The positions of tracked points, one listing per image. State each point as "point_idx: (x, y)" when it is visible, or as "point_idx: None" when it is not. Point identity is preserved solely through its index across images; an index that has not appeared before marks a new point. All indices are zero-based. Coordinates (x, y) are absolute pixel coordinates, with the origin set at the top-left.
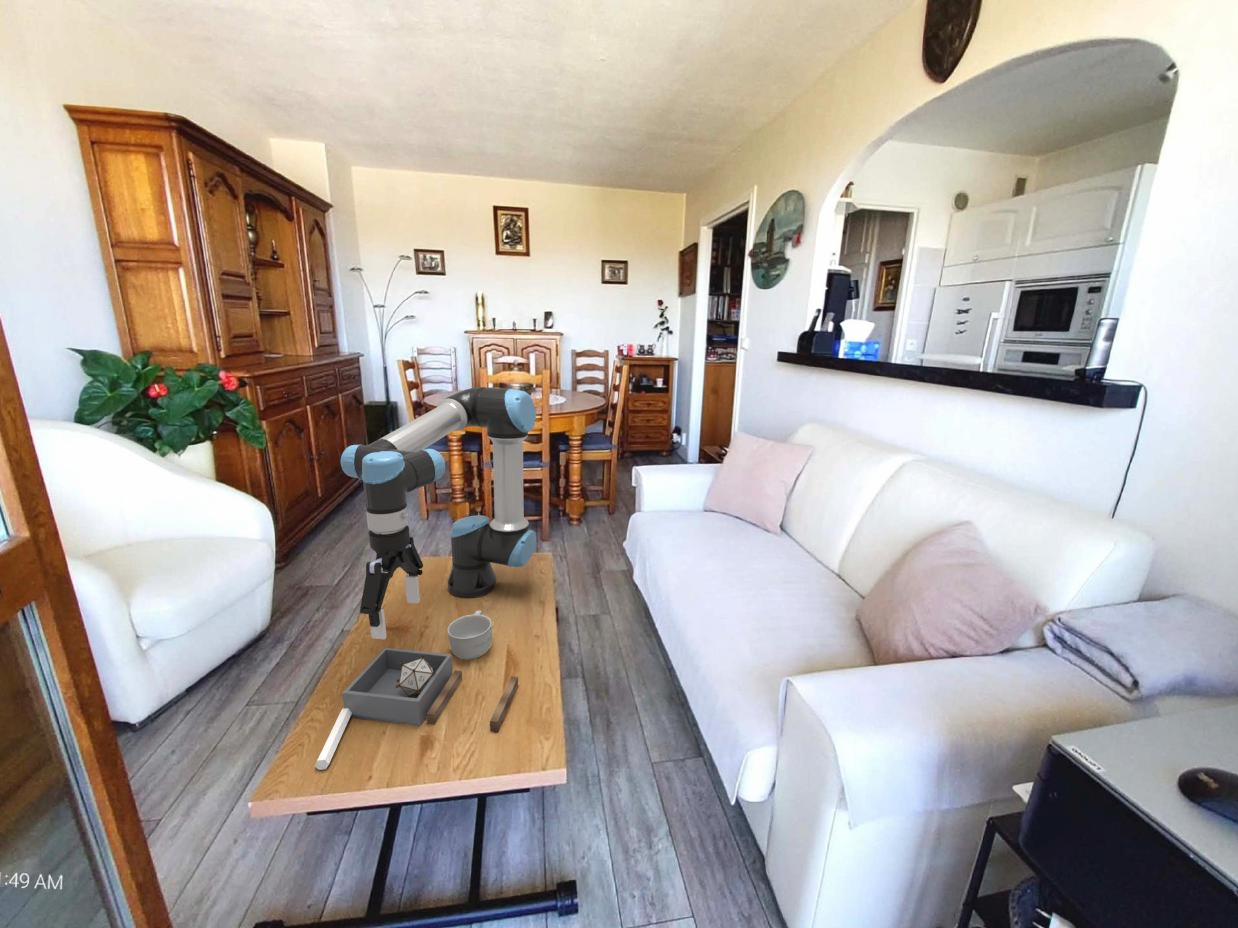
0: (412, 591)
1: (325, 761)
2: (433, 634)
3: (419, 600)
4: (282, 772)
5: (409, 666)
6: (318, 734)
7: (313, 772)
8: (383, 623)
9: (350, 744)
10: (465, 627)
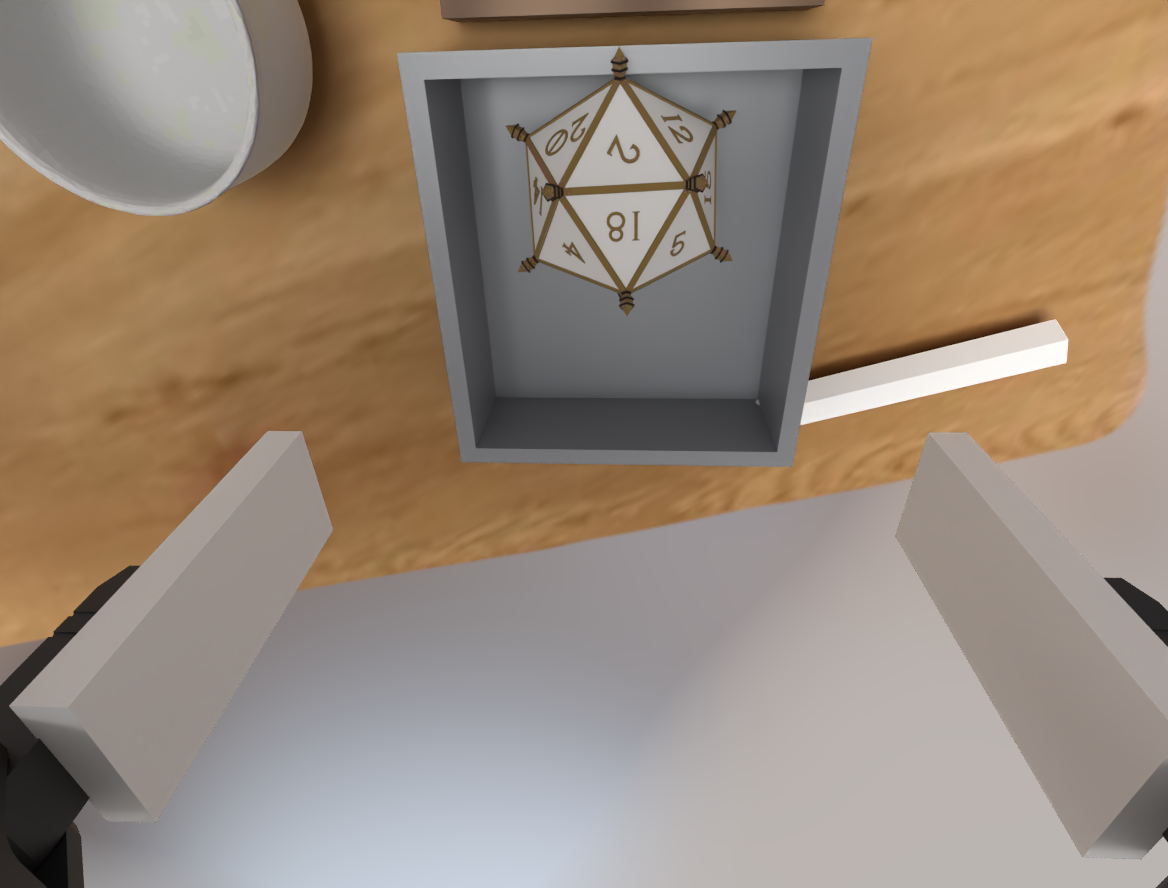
0: (247, 568)
1: (1062, 334)
2: (201, 330)
3: (265, 439)
4: (1020, 447)
5: (645, 239)
6: (853, 440)
7: None
8: (1067, 552)
9: (915, 307)
10: (89, 134)
